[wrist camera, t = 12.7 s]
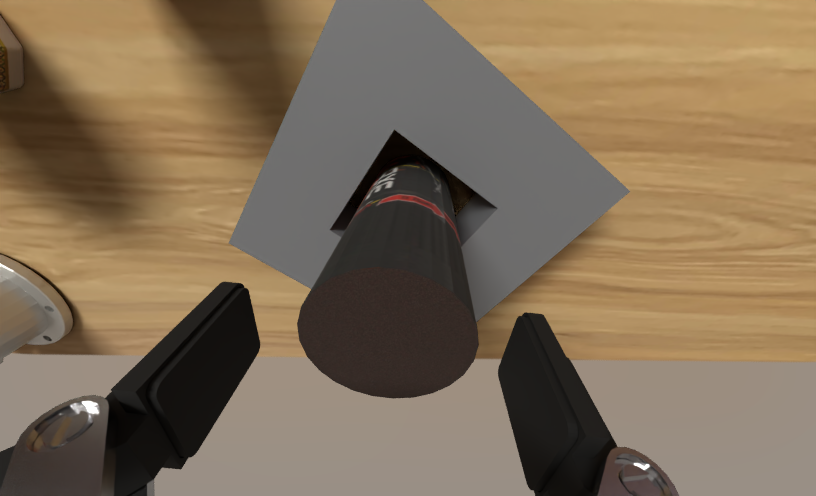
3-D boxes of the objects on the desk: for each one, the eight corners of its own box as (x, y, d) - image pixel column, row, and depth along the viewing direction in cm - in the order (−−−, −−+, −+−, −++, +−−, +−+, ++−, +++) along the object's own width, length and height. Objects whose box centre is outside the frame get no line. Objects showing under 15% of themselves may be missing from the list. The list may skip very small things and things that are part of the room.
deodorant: (409, 137, 20) (374, 226, 7) (465, 192, 22) (517, 345, 9) (358, 194, 23) (264, 340, 10) (413, 241, 25) (395, 417, 12)
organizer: (433, 316, 29) (434, 357, 24) (264, 214, 24) (228, 243, 20) (588, 169, 21) (630, 191, 16) (379, -19, 16) (361, -57, 12)
